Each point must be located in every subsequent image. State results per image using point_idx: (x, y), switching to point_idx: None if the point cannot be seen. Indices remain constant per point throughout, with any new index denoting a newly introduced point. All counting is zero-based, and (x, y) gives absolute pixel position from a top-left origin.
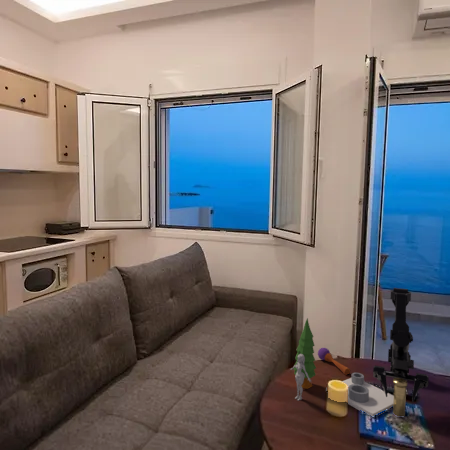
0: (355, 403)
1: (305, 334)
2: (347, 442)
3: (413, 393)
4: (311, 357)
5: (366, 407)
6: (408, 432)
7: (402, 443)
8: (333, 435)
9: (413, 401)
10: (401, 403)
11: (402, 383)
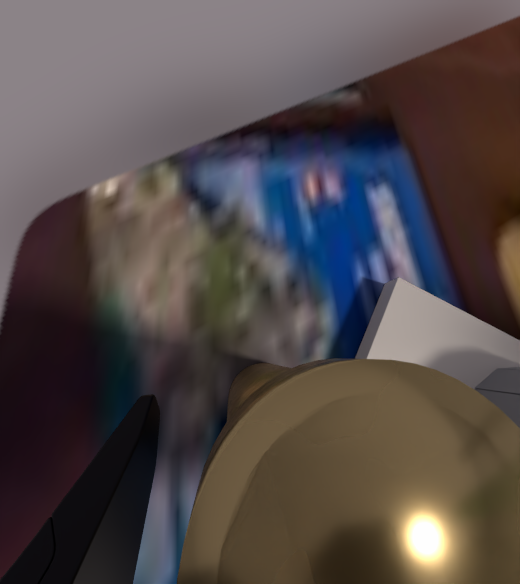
0: (513, 344)
1: None
2: (420, 72)
3: (111, 482)
4: None
5: (447, 333)
6: (204, 240)
7: (228, 145)
8: (476, 90)
9: (142, 396)
10: (258, 372)
11: (315, 431)
